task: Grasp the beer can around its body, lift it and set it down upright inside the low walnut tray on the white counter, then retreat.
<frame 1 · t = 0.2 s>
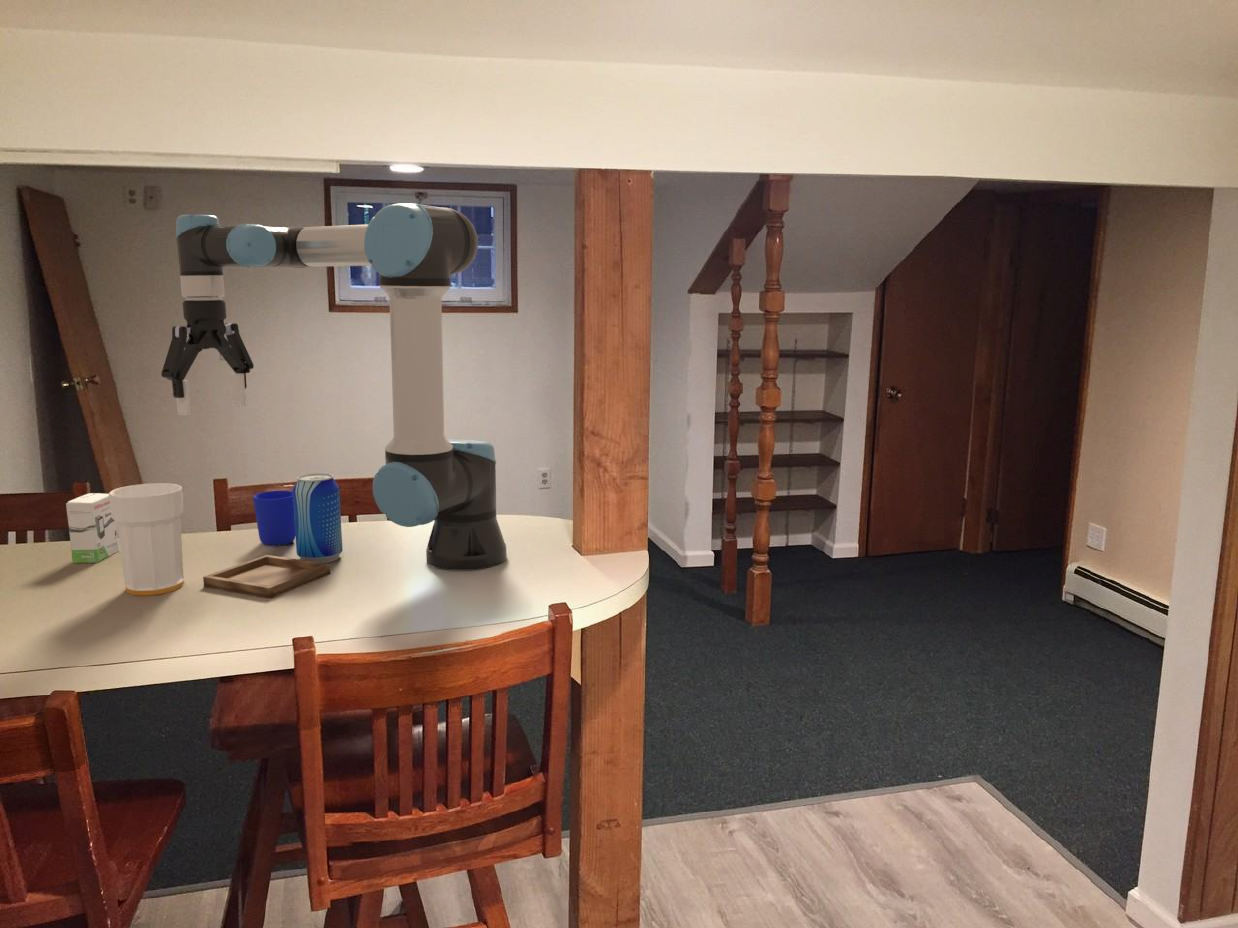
hand: (213, 410, 189), 28 cm above the table, fingers open, 13 cm apart
mug: (282, 541, 200), on the table
ink box: (96, 558, 188), on the table
tray: (268, 580, 174), on the table
cup: (155, 588, 170), on the table
beer can: (320, 559, 187), on the table
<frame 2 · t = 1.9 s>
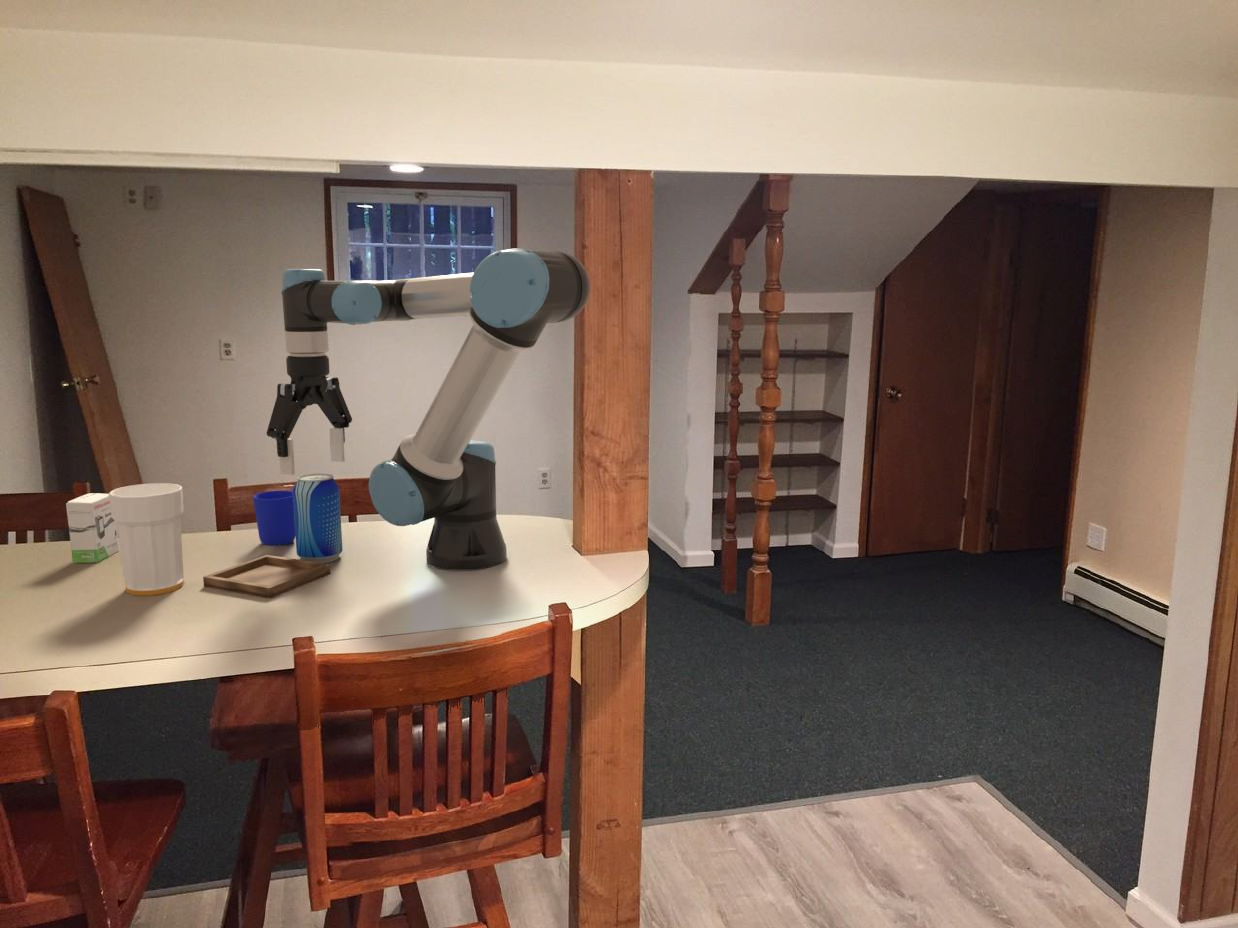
hand: (313, 467, 184), 18 cm above the table, fingers open, 13 cm apart
nothing on the table moved.
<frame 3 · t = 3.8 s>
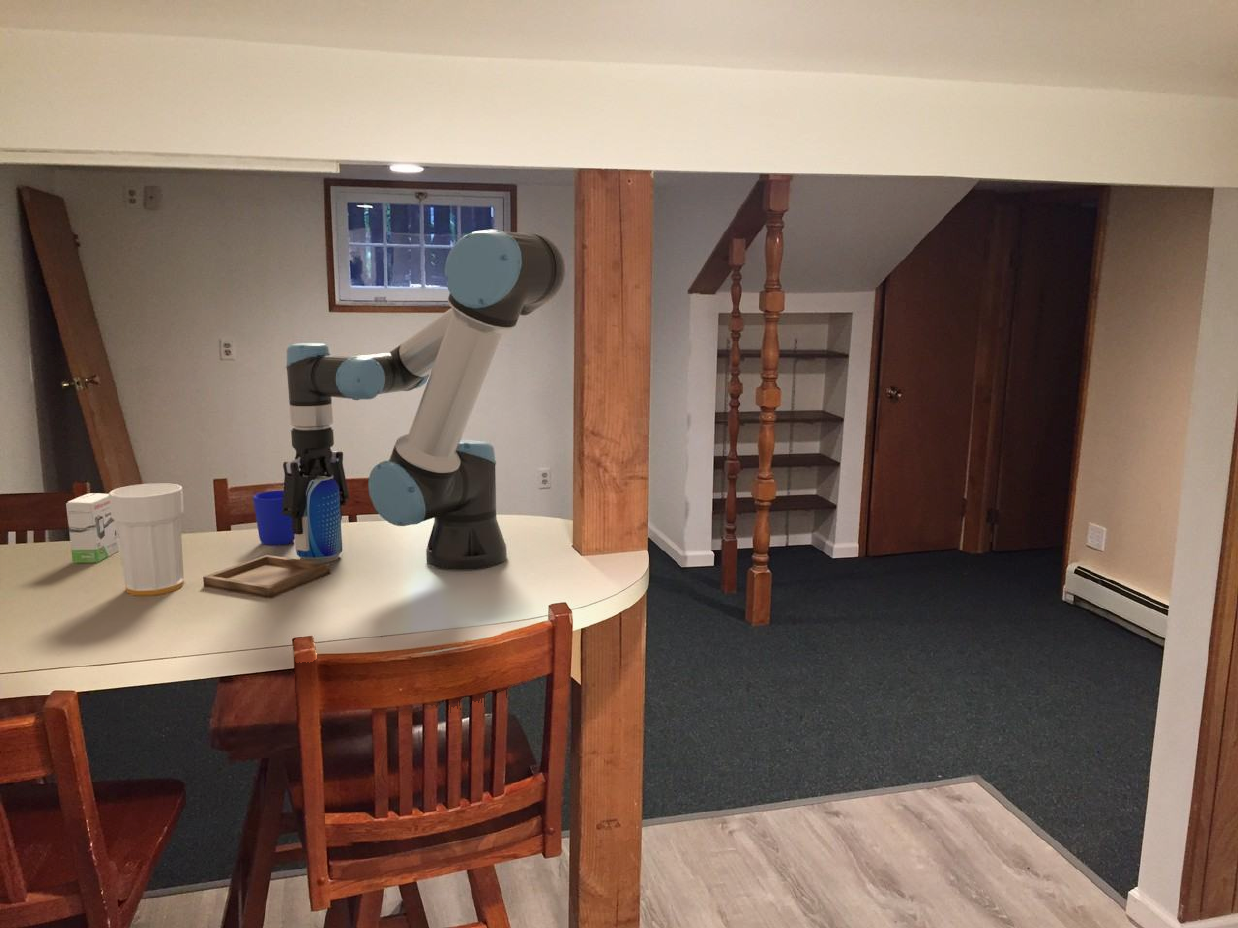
hand: (319, 543, 186), 3 cm above the table, fingers closed on beer can, 8 cm apart
beer can: (320, 559, 187), on the table, touching gripper
everything else where it was.
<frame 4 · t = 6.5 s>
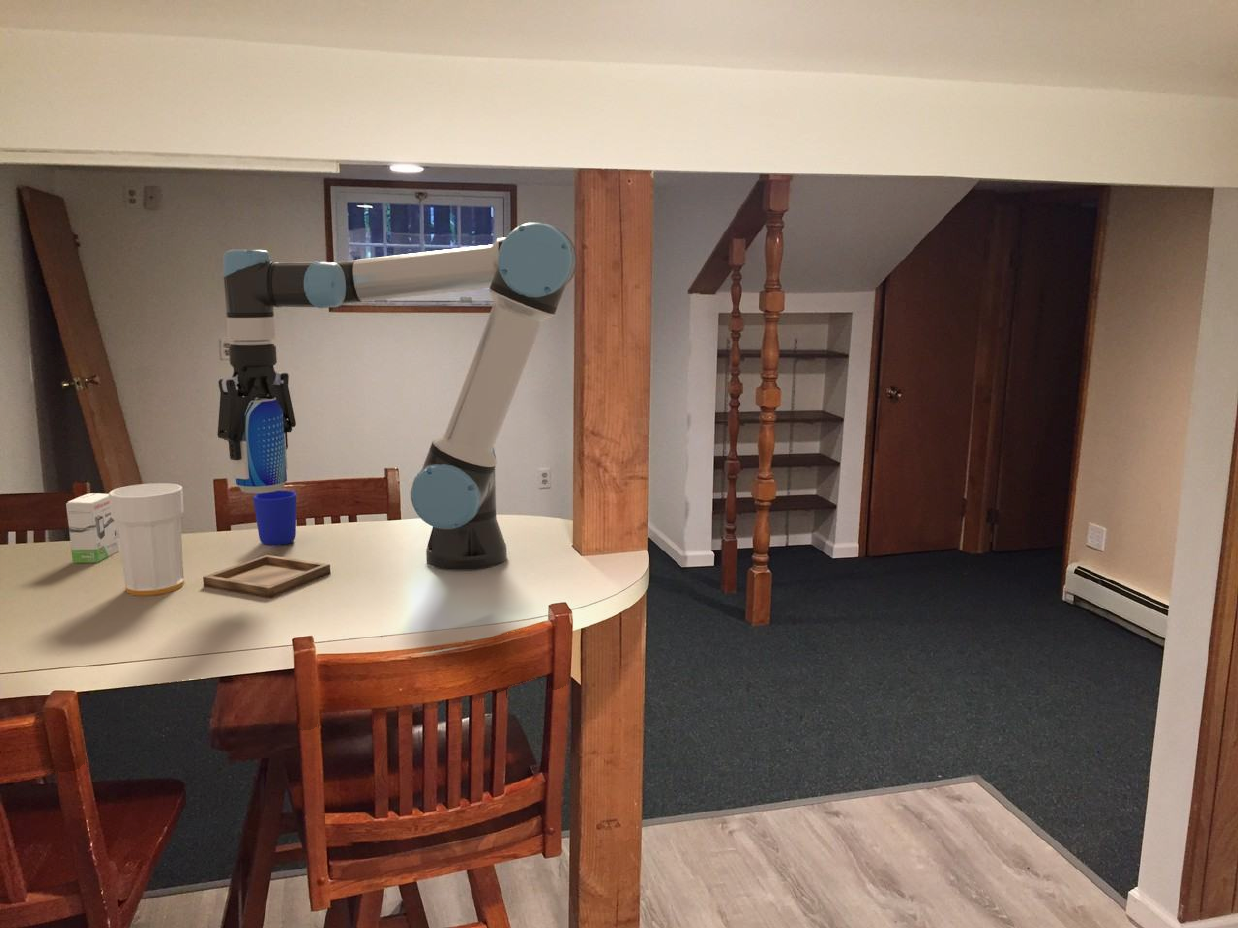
hand: (261, 473, 170), 19 cm above the table, fingers closed on beer can, 8 cm apart
beer can: (262, 490, 171), point 16 cm above the table, touching gripper
everything else where it was.
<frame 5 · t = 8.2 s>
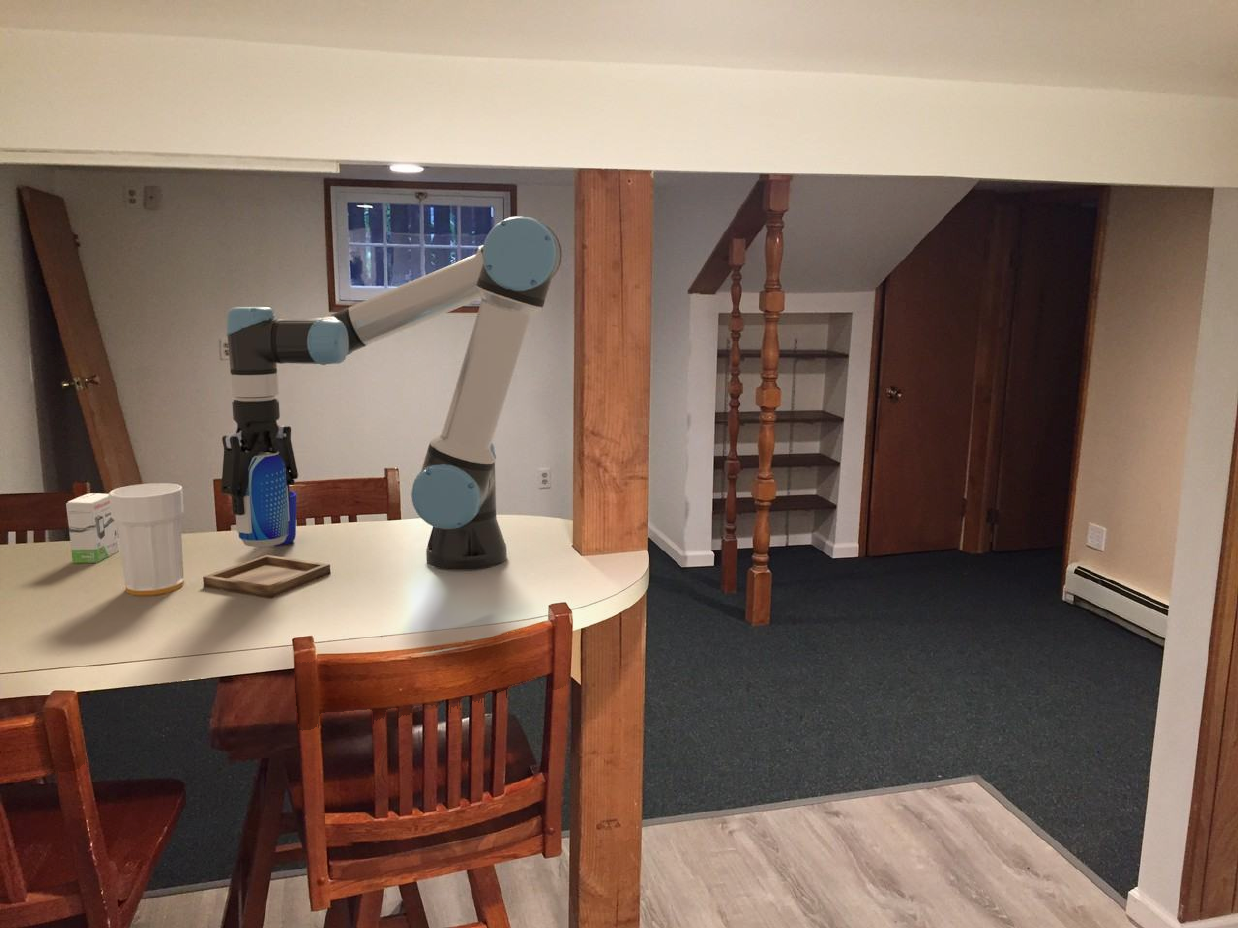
hand: (263, 526, 172), 10 cm above the table, fingers closed on beer can, 8 cm apart
beer can: (264, 542, 172), point 7 cm above the table, touching gripper
everything else where it was.
when the fingers open (5 cm above the table, at t = 9.7 s): beer can drops 1 cm, resting on tray.
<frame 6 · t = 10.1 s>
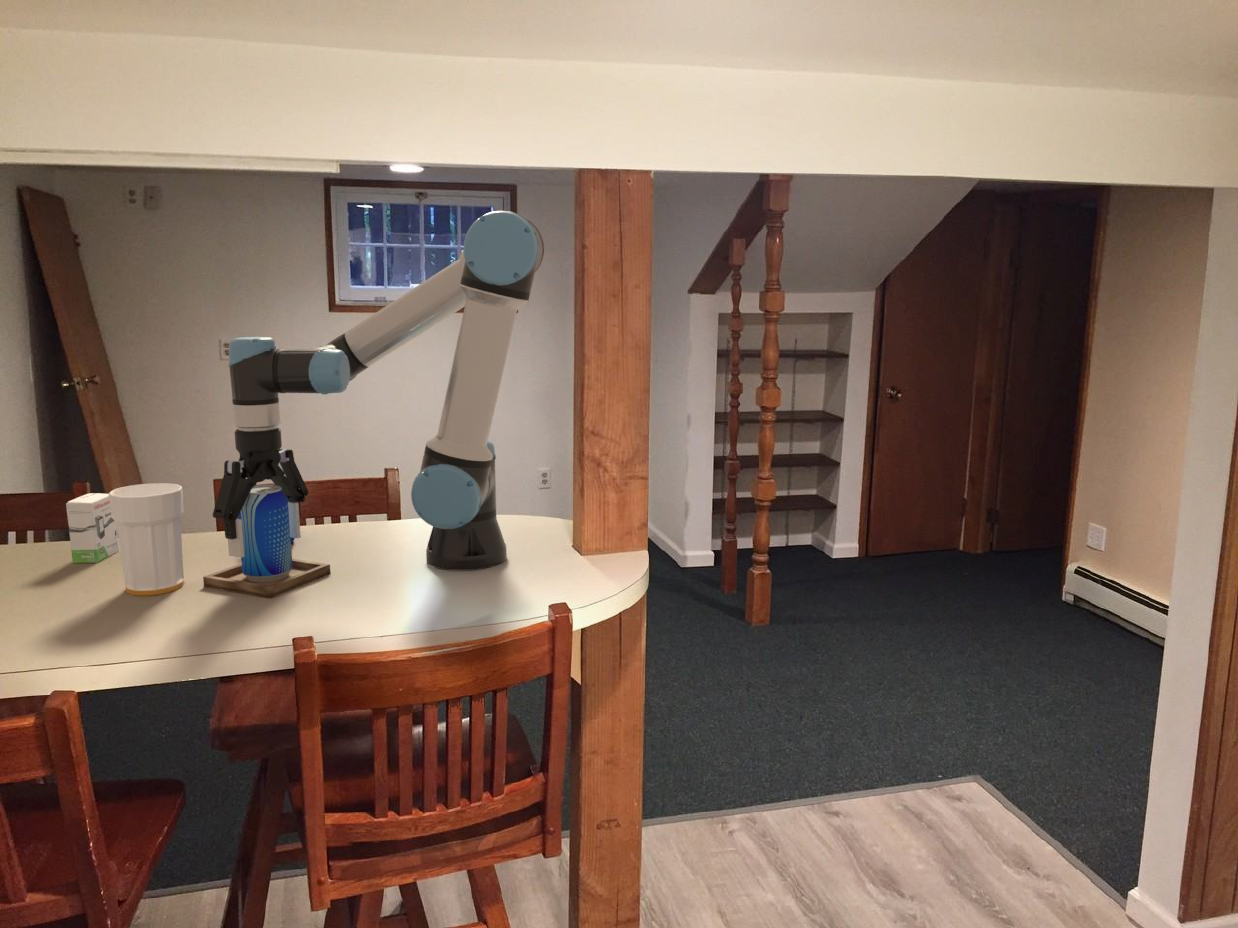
hand: (266, 546, 172), 6 cm above the table, fingers open, 13 cm apart
beer can: (268, 577, 174), resting on tray
everything else where it was.
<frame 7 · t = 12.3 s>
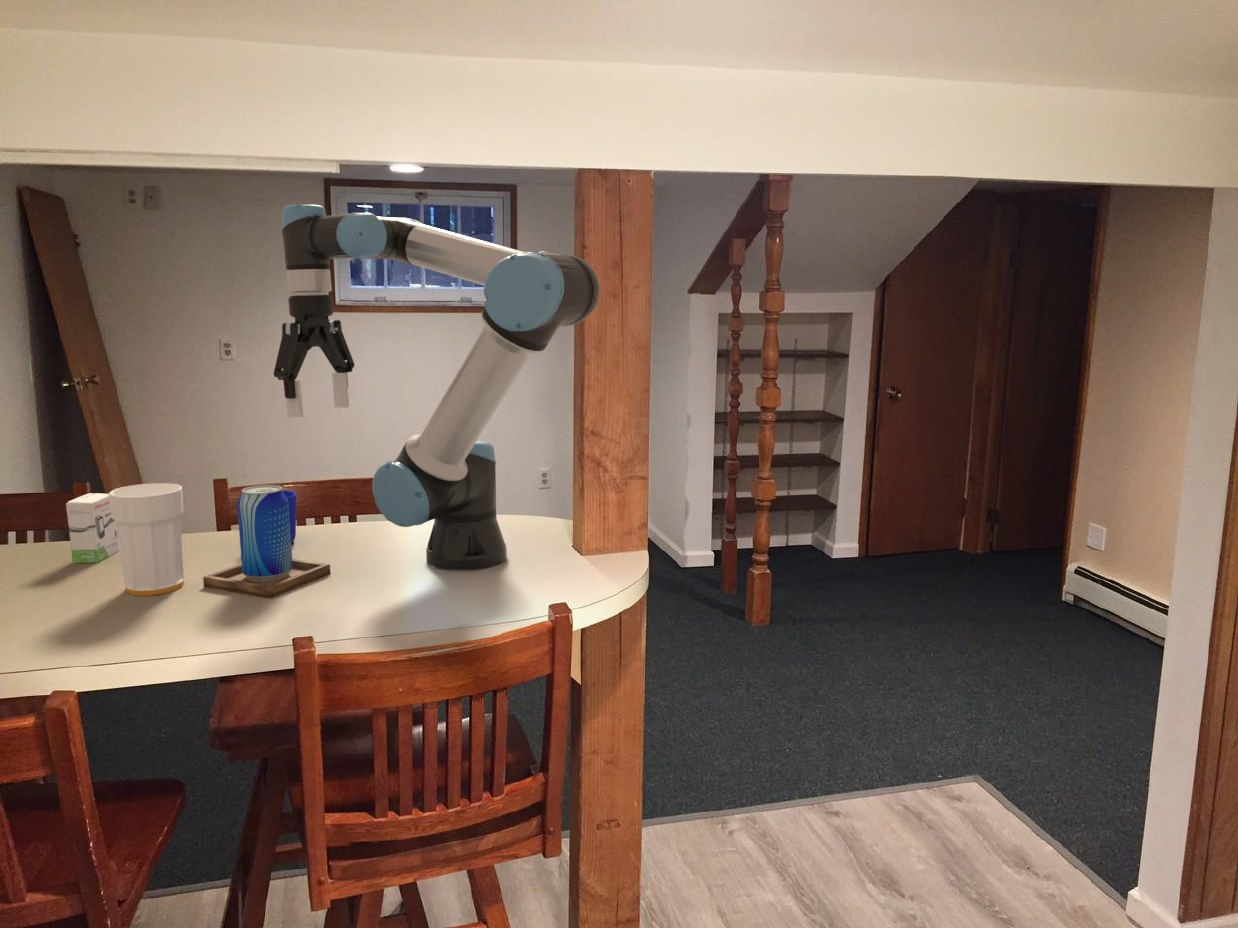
hand: (319, 412, 179), 29 cm above the table, fingers open, 13 cm apart
nothing on the table moved.
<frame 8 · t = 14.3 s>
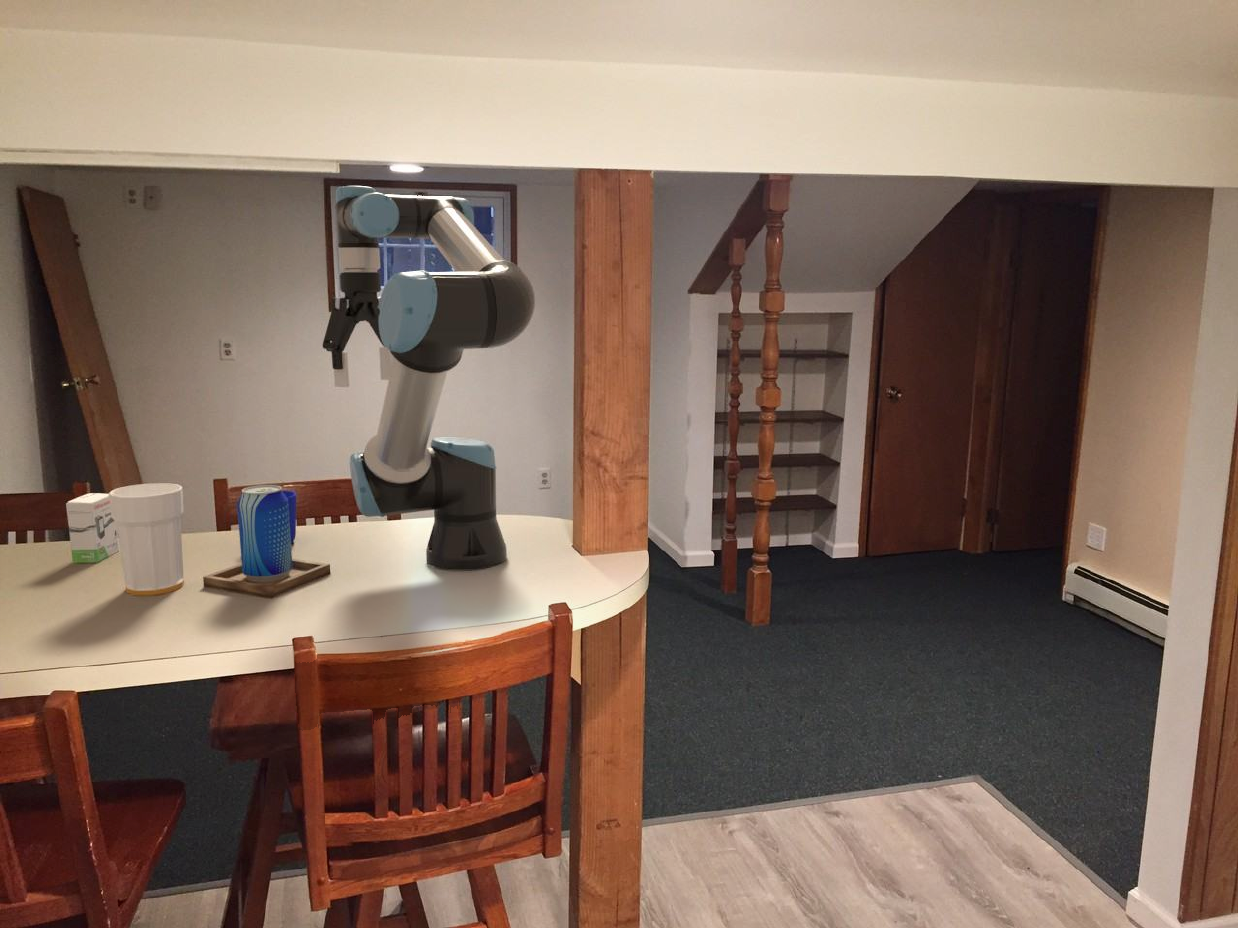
hand: (365, 383, 189), 33 cm above the table, fingers open, 13 cm apart
nothing on the table moved.
at the end: beer can inside the target area (0.1 cm from its centre), resting on tray; beer can tilted 0°; the gripper is holding nothing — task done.
